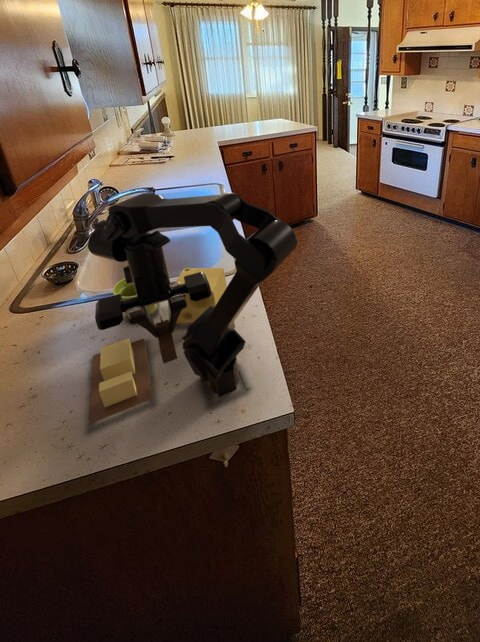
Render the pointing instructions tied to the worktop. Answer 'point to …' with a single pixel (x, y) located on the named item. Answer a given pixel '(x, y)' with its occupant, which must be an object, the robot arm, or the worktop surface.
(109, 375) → the butter
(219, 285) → the cheese
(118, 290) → the plant pot
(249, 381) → the worktop surface
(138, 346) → the board
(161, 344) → the knife
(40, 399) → the worktop surface
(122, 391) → the butter slice
